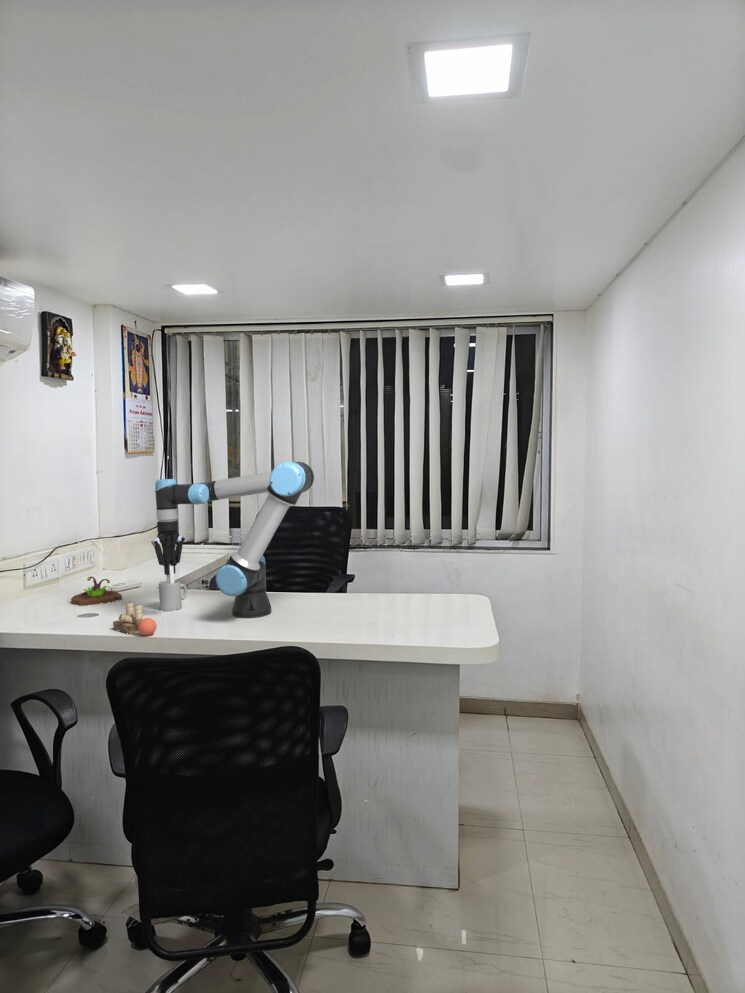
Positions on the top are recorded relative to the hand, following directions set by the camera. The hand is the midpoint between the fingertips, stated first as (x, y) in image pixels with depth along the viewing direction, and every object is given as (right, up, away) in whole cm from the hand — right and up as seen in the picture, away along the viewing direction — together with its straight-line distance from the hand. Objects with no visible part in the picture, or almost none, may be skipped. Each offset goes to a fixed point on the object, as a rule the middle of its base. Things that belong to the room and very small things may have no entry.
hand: (170, 582), depth 245 cm
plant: (-46, -14, +41) cm, 63 cm away
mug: (-5, -13, +22) cm, 26 cm away
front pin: (-7, -14, -8) cm, 18 cm away
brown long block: (-12, -16, -13) cm, 24 cm away
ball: (-2, -13, -19) cm, 23 cm away
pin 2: (-7, -15, -12) cm, 21 cm away
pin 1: (-12, -15, -8) cm, 21 cm away
